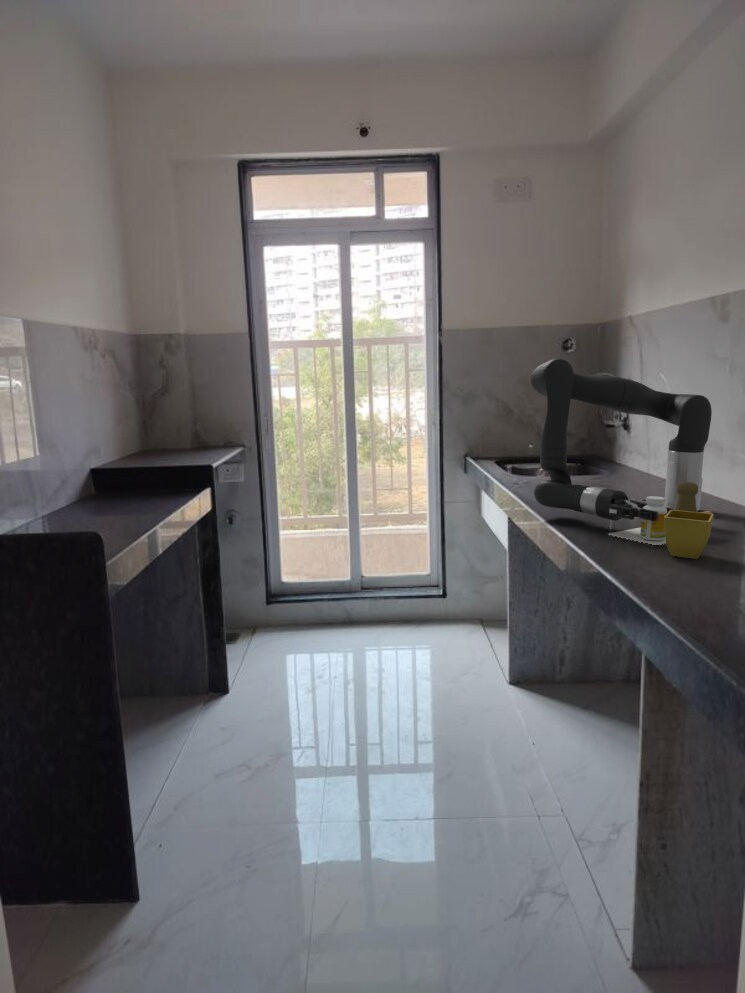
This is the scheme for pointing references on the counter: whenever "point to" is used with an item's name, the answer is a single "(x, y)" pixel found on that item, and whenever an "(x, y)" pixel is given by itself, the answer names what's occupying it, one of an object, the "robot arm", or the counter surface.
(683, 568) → the counter surface
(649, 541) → the paper
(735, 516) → the counter surface
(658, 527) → the supplement bottle
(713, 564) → the counter surface
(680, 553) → the flower pot
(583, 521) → the counter surface
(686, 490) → the olive chess pawn
